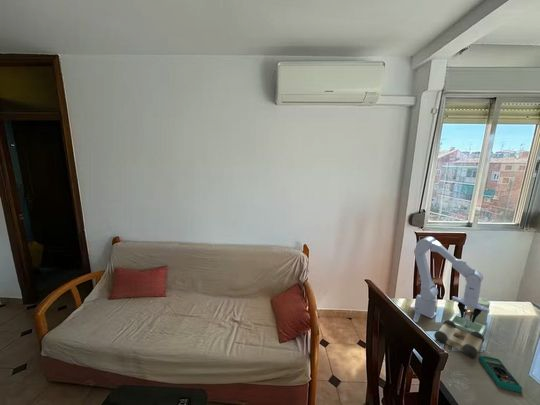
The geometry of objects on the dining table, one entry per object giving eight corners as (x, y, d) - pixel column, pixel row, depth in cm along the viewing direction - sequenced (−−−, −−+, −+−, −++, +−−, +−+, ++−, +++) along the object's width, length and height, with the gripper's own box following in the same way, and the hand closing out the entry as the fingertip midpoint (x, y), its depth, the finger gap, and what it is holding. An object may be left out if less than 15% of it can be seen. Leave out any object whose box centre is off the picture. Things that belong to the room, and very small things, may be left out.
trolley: (433, 339, 116) (435, 329, 115) (443, 326, 126) (444, 318, 125) (476, 360, 104) (477, 349, 103) (483, 344, 113) (485, 335, 113)
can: (491, 324, 128) (495, 304, 126) (474, 324, 128) (477, 303, 126) (477, 314, 137) (480, 294, 135) (460, 313, 137) (463, 294, 136)
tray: (447, 327, 125) (448, 321, 125) (453, 319, 132) (454, 313, 131) (479, 341, 115) (481, 335, 115) (484, 332, 122) (485, 326, 122)
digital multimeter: (498, 389, 91) (500, 382, 90) (477, 359, 105) (478, 353, 105) (523, 395, 89) (524, 388, 88) (498, 363, 103) (499, 357, 103)
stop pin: (460, 326, 123) (463, 310, 122) (462, 323, 126) (465, 307, 125) (469, 330, 120) (473, 313, 119) (471, 327, 123) (474, 311, 122)
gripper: (451, 291, 124) (448, 315, 126) (489, 304, 113) (484, 330, 115) (455, 287, 128) (452, 310, 130) (492, 299, 117) (487, 324, 119)
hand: (467, 319), depth 123 cm, fingers closed on stop pin, 4 cm apart
